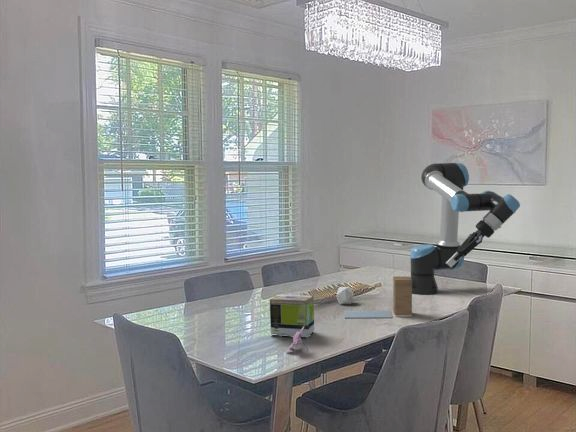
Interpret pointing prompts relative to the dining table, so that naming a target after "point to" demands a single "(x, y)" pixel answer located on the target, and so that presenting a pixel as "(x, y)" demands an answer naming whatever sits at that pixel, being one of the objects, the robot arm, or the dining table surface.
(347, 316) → the mat
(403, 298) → the brown wooden block
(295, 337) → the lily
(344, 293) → the white faceted ball
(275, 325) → the tea box
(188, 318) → the dining table surface
